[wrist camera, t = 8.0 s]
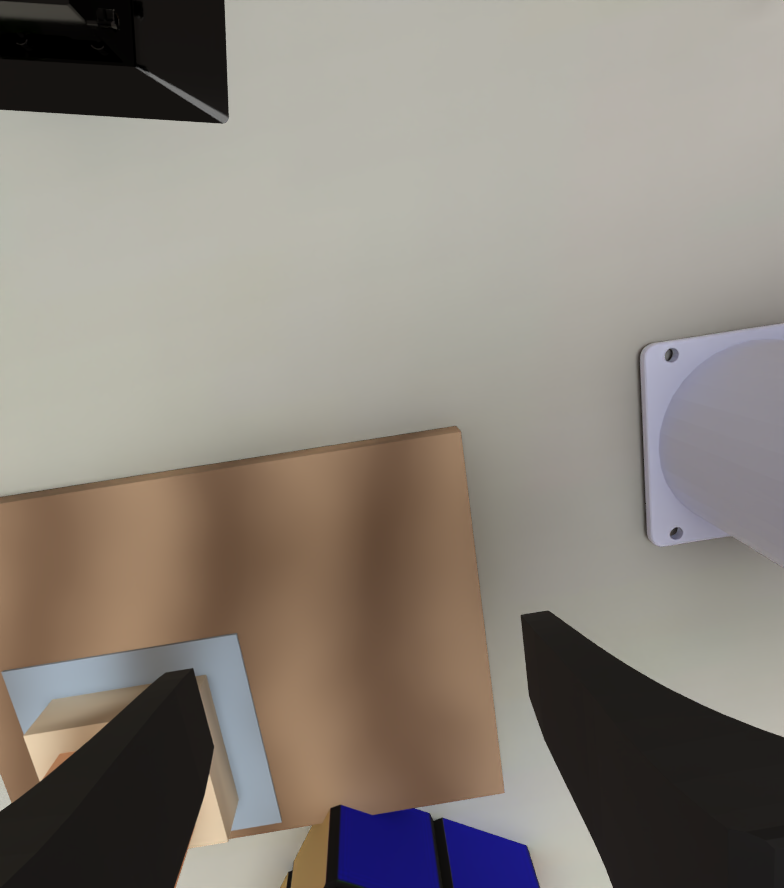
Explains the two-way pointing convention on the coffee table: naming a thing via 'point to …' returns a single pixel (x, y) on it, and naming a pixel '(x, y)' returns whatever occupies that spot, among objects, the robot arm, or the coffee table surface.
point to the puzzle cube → (406, 854)
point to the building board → (261, 627)
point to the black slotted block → (115, 58)
